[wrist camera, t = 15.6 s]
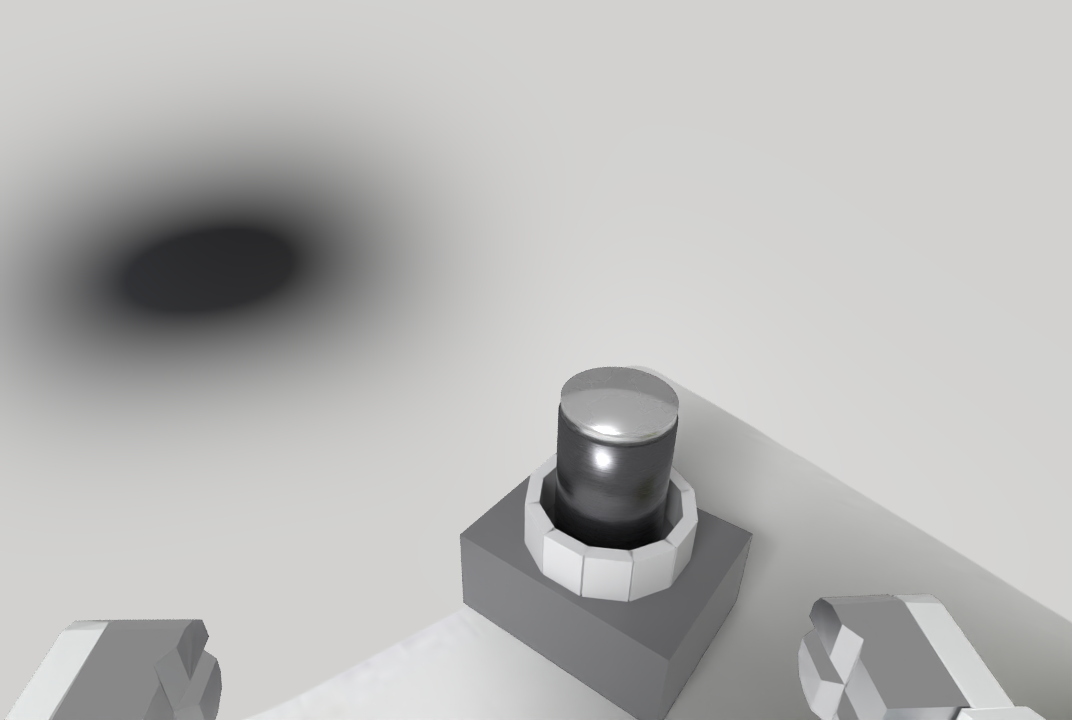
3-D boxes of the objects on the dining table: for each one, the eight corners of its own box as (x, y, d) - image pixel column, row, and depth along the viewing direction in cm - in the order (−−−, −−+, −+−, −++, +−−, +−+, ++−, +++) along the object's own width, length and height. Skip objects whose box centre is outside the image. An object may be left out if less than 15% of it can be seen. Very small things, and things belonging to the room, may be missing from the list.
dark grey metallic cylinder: (532, 541, 40) (535, 402, 35) (590, 485, 45) (600, 354, 40) (625, 594, 37) (642, 449, 32) (678, 527, 42) (700, 391, 37)
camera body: (463, 602, 44) (458, 496, 39) (561, 509, 52) (566, 411, 47) (656, 731, 37) (676, 620, 32) (736, 601, 44) (761, 496, 40)
